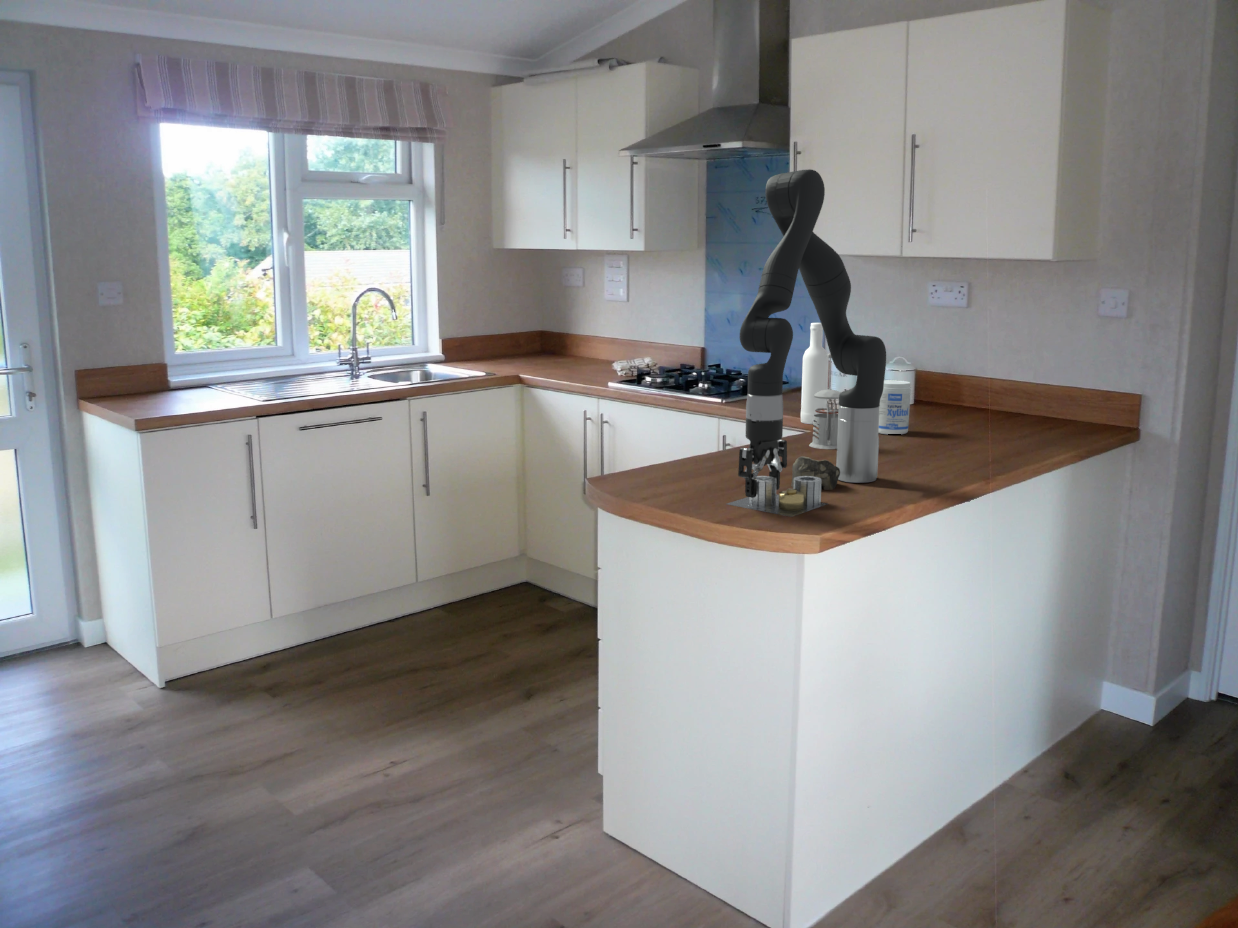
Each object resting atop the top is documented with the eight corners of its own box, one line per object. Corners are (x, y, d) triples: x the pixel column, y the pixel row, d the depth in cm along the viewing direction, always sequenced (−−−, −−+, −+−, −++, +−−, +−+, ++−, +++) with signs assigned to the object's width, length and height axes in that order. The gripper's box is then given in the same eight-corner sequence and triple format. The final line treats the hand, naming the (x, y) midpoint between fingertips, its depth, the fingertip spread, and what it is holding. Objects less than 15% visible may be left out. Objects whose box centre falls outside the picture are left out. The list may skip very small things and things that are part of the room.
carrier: (763, 497, 233) (764, 474, 232) (828, 509, 223) (829, 485, 222) (725, 509, 223) (725, 485, 222) (791, 522, 212) (792, 497, 211)
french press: (843, 442, 295) (847, 351, 290) (848, 450, 284) (852, 355, 279) (807, 442, 296) (810, 351, 291) (810, 450, 285) (813, 355, 280)
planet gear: (758, 497, 228) (759, 474, 226) (780, 501, 224) (781, 478, 223) (743, 502, 223) (744, 479, 222) (766, 506, 220) (766, 482, 219)
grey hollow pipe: (797, 498, 227) (798, 475, 226) (823, 500, 225) (824, 477, 224) (789, 503, 222) (790, 480, 221) (815, 506, 220) (816, 482, 219)
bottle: (811, 419, 333) (815, 321, 327) (832, 422, 327) (835, 323, 321) (794, 422, 328) (797, 323, 322) (815, 425, 322) (818, 324, 316)
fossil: (834, 482, 245) (841, 447, 239) (839, 509, 238) (847, 474, 231) (786, 480, 245) (791, 446, 239) (790, 507, 238) (796, 473, 231)
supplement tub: (889, 436, 304) (892, 384, 301) (867, 431, 312) (869, 380, 309) (915, 433, 308) (918, 382, 305) (892, 428, 316) (895, 378, 313)
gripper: (768, 409, 228) (766, 484, 231) (728, 418, 217) (727, 496, 220) (799, 413, 223) (796, 490, 226) (759, 422, 212) (758, 502, 216)
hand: (762, 493), depth 223 cm, fingers open, 8 cm apart
